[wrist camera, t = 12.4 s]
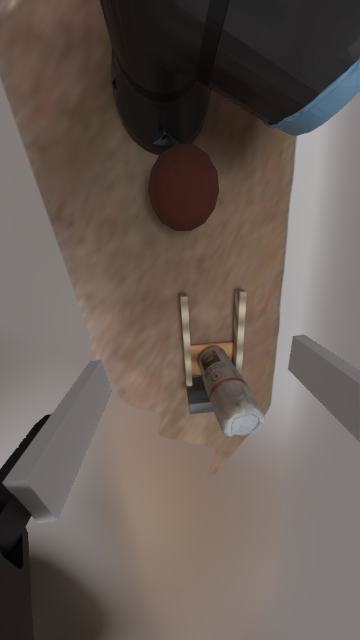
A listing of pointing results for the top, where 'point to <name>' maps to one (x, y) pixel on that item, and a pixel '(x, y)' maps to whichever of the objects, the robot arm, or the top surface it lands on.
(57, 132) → the top surface
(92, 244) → the top surface
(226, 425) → the grey cylinder
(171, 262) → the top surface
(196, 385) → the track
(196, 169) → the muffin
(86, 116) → the top surface
